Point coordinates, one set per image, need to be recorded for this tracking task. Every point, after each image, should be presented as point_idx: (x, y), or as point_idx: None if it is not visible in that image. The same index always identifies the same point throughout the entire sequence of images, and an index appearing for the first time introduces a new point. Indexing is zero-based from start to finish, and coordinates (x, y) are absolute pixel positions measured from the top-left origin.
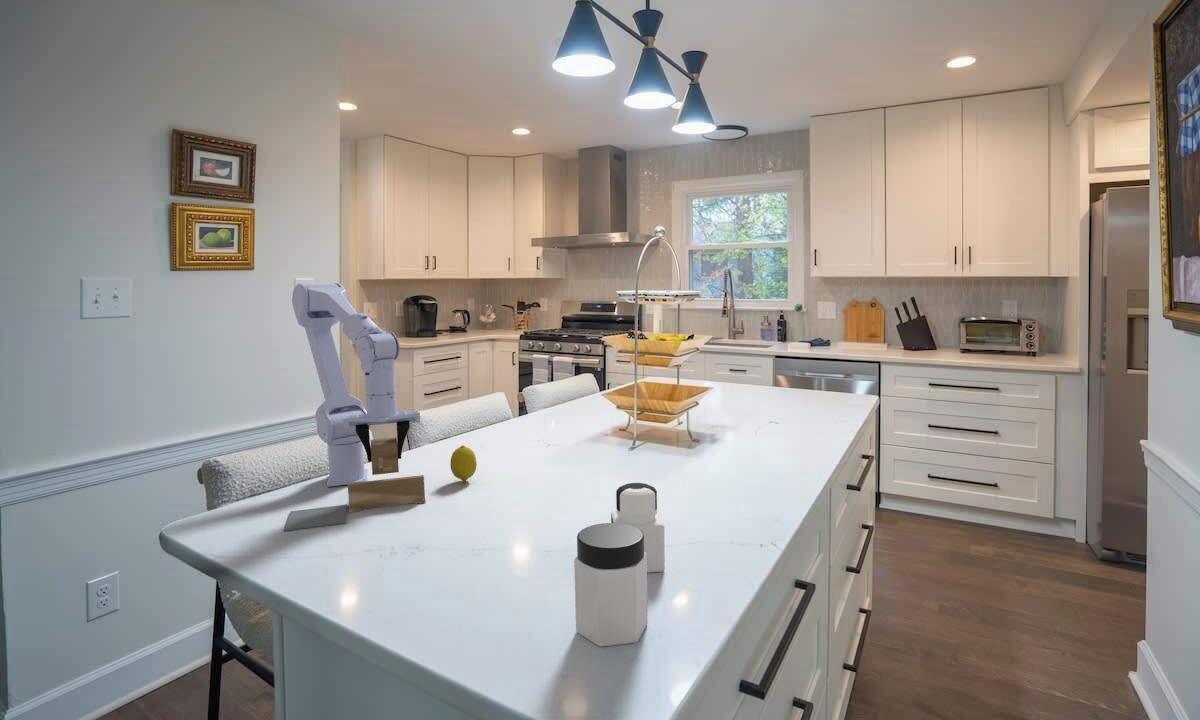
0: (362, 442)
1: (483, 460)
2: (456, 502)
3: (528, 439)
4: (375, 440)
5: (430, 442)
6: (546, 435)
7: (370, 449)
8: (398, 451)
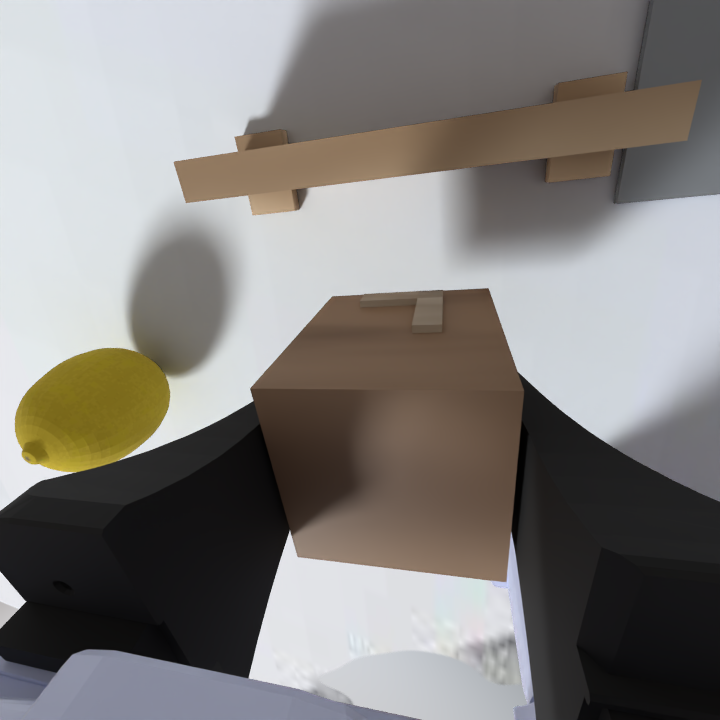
0: (631, 461)
1: None
2: (109, 99)
3: None
4: (464, 545)
5: (321, 693)
6: None
7: None
8: None
